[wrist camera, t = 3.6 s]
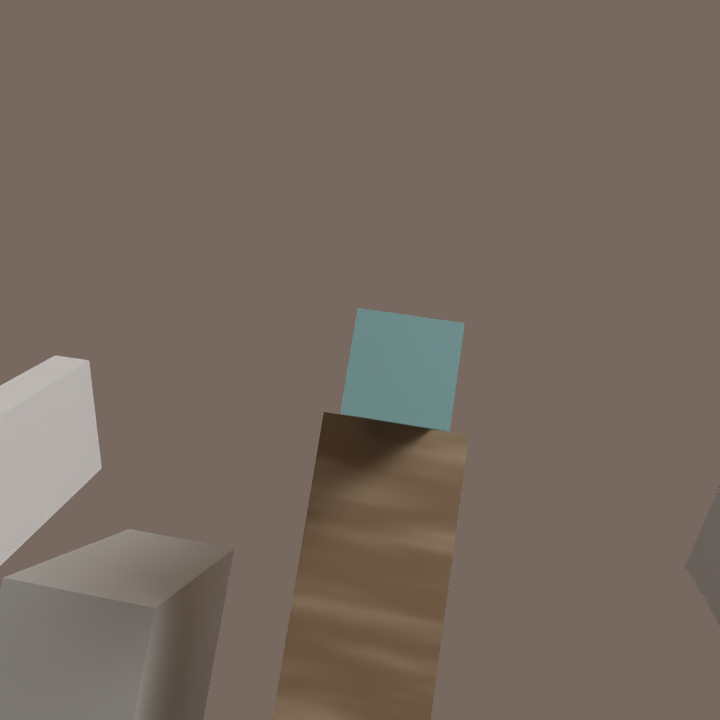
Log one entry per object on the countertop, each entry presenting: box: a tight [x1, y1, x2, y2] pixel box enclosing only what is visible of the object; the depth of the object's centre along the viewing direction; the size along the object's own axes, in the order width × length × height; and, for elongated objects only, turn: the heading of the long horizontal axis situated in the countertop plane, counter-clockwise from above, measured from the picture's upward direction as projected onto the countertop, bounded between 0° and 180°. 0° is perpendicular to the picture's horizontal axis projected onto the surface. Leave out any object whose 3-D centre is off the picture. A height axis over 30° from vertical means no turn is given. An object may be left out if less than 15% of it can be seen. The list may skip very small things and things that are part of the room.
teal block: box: [341, 308, 464, 431], centre depth 29 cm, size 24×4×4 cm, turn 176°
